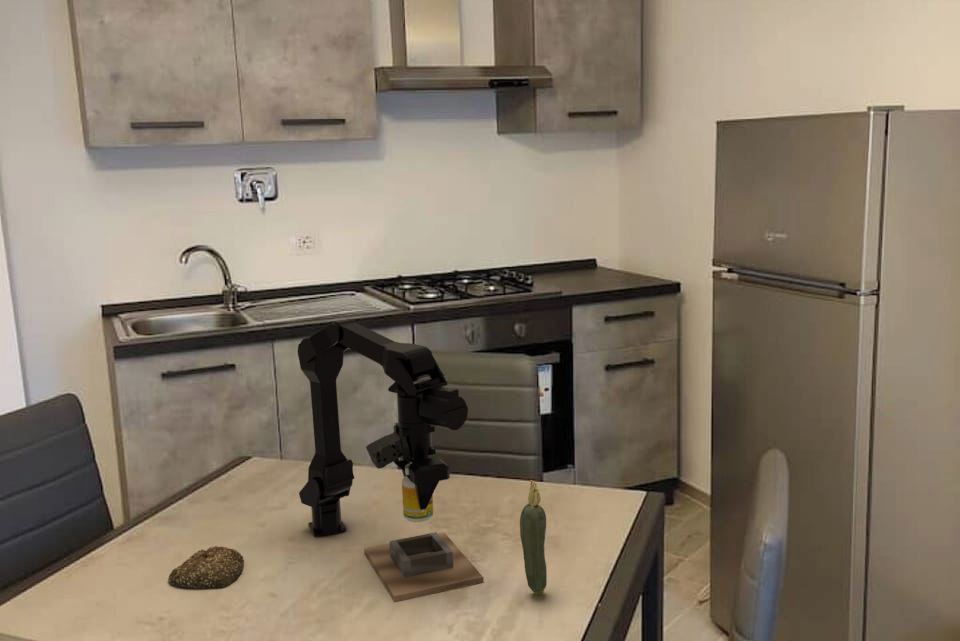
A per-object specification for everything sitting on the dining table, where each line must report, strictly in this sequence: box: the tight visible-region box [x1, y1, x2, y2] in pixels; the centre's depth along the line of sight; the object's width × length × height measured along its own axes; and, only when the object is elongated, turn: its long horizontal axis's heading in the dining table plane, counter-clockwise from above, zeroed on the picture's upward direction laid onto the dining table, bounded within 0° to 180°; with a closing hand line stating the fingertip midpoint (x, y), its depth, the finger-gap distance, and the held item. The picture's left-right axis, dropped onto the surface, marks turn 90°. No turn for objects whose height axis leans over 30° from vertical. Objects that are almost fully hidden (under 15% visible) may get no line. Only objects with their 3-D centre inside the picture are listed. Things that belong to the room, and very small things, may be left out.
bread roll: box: [167, 545, 245, 589], centre depth 158 cm, size 13×12×5 cm
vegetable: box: [519, 479, 548, 596], centre depth 144 cm, size 4×4×20 cm
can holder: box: [363, 531, 484, 603], centre depth 157 cm, size 20×16×4 cm
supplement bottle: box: [401, 463, 434, 523], centre depth 155 cm, size 5×5×10 cm
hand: (418, 503), depth 155 cm, fingers closed on supplement bottle, 5 cm apart
